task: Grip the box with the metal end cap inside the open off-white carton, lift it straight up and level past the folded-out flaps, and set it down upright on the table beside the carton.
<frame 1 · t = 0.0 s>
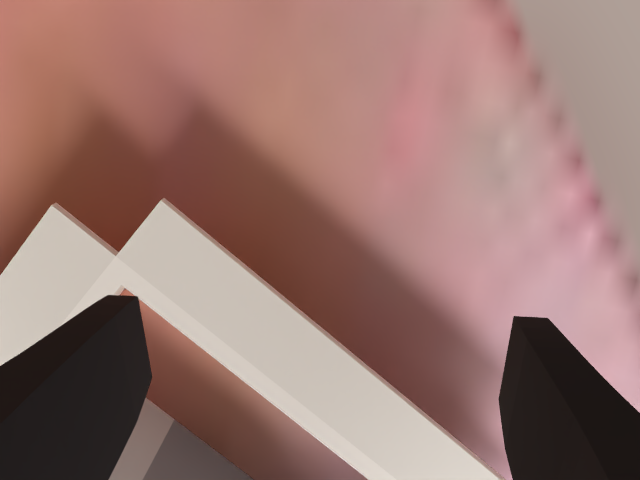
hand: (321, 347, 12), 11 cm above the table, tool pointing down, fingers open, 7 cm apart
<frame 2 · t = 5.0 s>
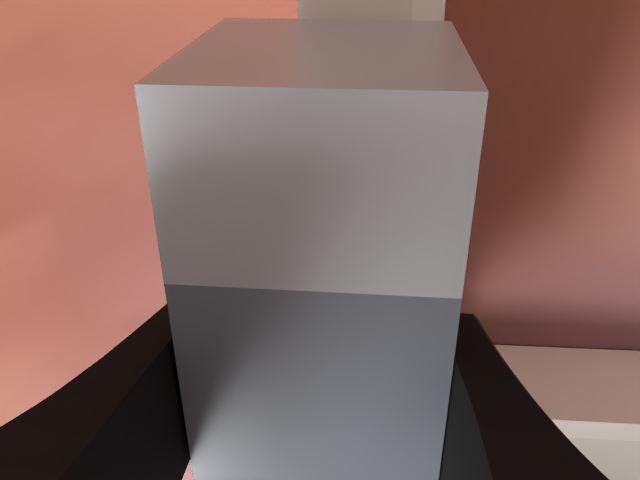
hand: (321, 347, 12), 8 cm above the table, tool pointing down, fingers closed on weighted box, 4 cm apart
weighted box: (325, 326, 12), point 8 cm above the table, touching gripper
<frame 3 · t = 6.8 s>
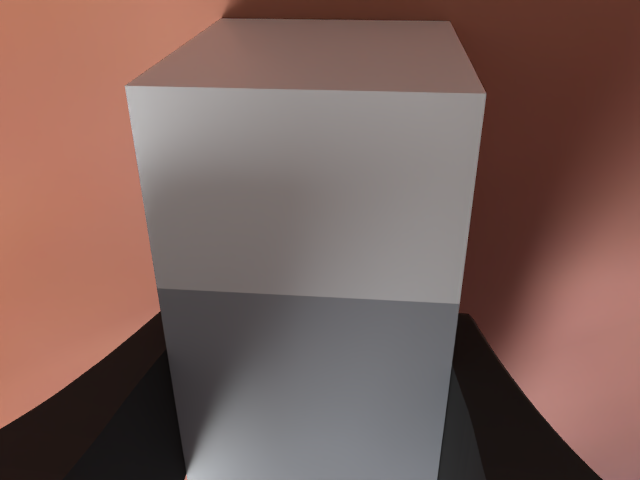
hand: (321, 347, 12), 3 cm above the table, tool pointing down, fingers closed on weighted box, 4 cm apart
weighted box: (322, 329, 12), on the table, touching gripper
when the fingers open (3 cm above the table, at t = 7.0 s): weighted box stays where it is, on the table.
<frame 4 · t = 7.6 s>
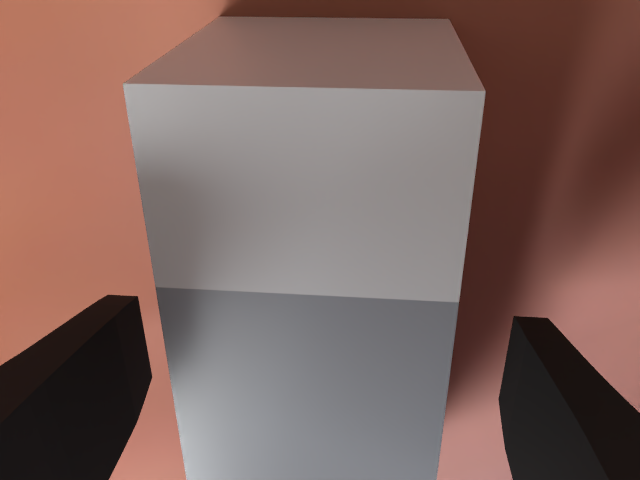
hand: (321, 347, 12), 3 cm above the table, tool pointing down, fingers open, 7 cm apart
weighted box: (321, 328, 12), on the table
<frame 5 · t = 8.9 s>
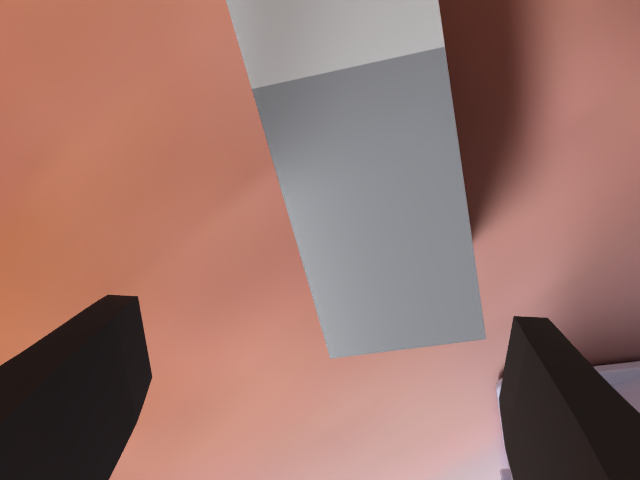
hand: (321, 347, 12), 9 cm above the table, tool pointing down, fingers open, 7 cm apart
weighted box: (370, 136, 17), on the table
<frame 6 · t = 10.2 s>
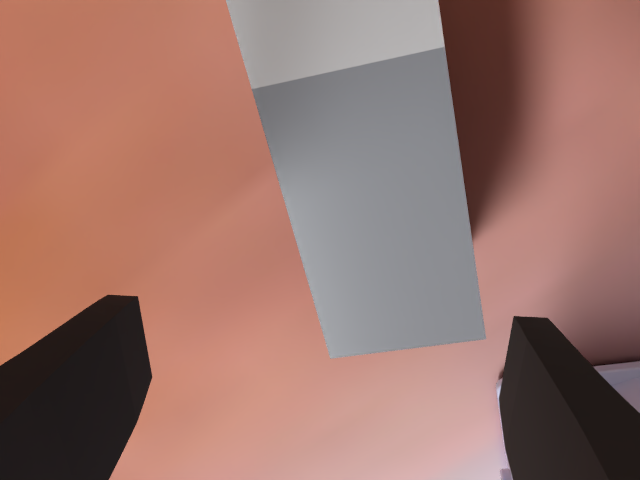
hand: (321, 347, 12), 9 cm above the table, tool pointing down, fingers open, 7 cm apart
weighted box: (370, 136, 17), on the table
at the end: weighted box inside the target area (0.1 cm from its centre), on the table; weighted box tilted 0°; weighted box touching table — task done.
